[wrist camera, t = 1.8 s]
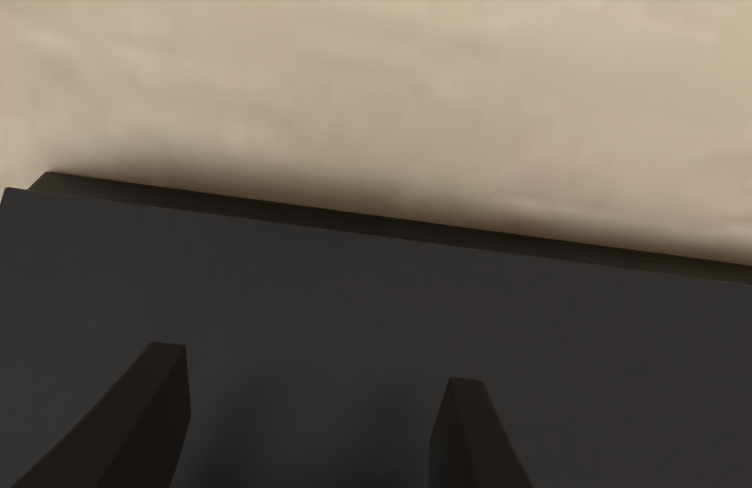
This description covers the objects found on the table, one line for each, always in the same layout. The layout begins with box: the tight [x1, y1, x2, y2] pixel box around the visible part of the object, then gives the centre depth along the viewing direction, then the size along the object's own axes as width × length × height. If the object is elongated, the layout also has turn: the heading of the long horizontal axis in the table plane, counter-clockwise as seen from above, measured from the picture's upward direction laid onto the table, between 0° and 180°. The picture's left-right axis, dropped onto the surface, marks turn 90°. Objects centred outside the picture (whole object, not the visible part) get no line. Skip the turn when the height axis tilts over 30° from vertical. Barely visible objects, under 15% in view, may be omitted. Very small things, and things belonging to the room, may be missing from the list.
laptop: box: [27, 172, 752, 285], centre depth 25 cm, size 21×30×2 cm
